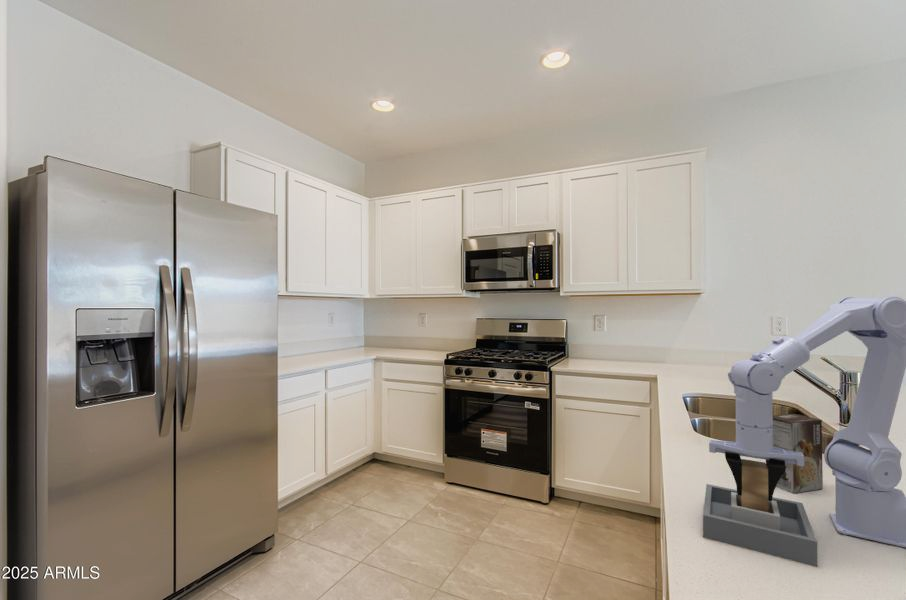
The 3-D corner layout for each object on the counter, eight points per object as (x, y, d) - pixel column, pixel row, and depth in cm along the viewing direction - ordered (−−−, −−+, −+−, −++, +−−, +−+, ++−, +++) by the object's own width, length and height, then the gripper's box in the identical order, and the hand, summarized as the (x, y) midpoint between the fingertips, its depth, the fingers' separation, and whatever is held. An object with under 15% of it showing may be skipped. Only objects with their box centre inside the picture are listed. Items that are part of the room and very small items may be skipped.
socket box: (802, 523, 82) (802, 497, 82) (817, 566, 69) (817, 535, 69) (706, 502, 91) (706, 479, 91) (703, 537, 78) (703, 509, 78)
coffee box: (794, 478, 104) (794, 412, 104) (823, 489, 97) (823, 419, 98) (766, 482, 101) (765, 415, 101) (793, 494, 95) (793, 422, 95)
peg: (765, 509, 81) (765, 462, 81) (768, 518, 77) (768, 469, 78) (740, 504, 83) (740, 458, 83) (742, 513, 79) (741, 465, 80)
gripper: (798, 424, 80) (798, 496, 80) (708, 414, 87) (708, 480, 87) (806, 434, 74) (807, 512, 74) (709, 422, 81) (709, 493, 81)
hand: (754, 496), depth 80 cm, fingers closed on peg, 4 cm apart
